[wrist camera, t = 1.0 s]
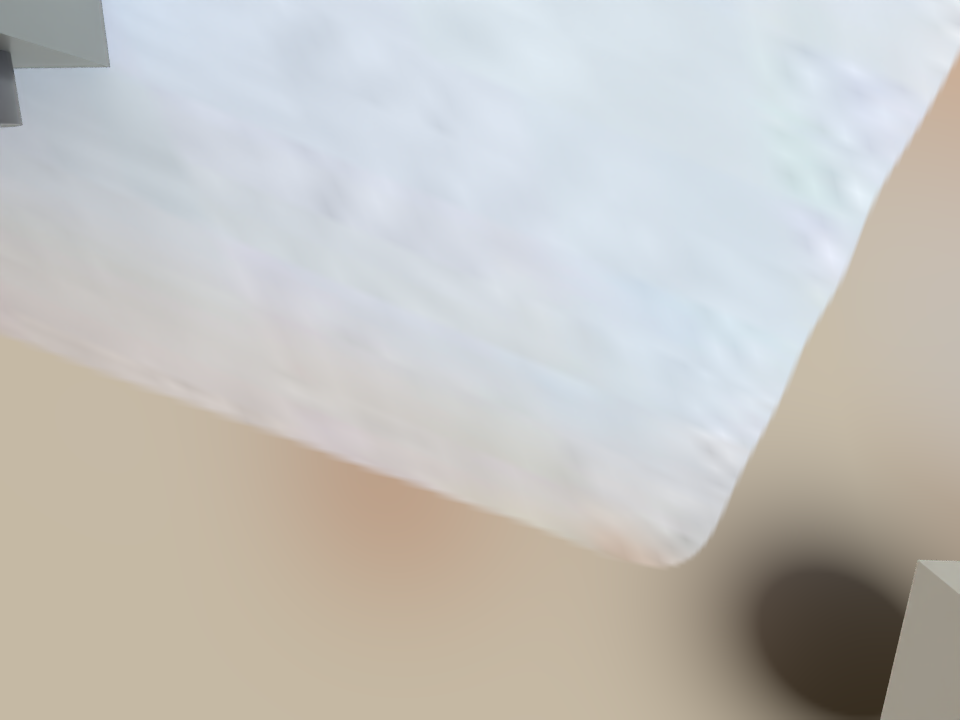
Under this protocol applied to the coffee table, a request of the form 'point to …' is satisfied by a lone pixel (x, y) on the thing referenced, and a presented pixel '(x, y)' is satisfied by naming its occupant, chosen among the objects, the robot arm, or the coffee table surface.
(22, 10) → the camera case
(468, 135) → the coffee table surface
